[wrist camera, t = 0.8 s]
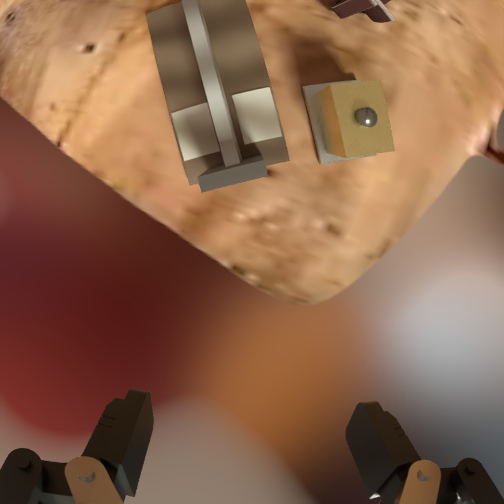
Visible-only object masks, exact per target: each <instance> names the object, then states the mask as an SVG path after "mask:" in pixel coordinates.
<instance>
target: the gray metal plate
mask: <svg viewBox="0 0 504 504" xmlns="http://www.w3.org/2000/svg"><path fill="white" fill-rule="evenodd" d="M359 81H361V80H350V81H340V82H331V83H323V84H315V85H308V86H303V87H302V91H303V95H304V99H305V102H306V106H307V110H308V115H309V119H310V123H311V127H312V132H313V136H314V141H315V145H316V150H317V154H318V159H319V164H321V165H323V164H328V163H333V162H339V161H344V160H350V159H356V158H362V157H368V156H375V155H376V154H370V155H364V156H358V157H352V158H343V157H339V156H336V155H332V154H328V153H327V149H326V144H325V139H324V135H323V130H322V126H321V122H320V117H319V113H318V109H317V105H316V101H315V97H314V94H316V93H317V92H319V91H320V90H322V89H323V88H325V87H326V86H328V85H330V84H338V83H347V82H359Z"/></svg>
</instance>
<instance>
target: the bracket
mask: <svg viewBox="0 0 504 504" xmlns="http://www.w3.org/2000/svg"><path fill="white" fill-rule="evenodd" d="M389 1H391V0H334V1H333V2H332V4H331V5H330V8H331V9H332V10H333V11H334V12H335V13H336V14H337V15H338V16H339V17H340V18H341V19H343V18H346V17H349V16H351V15H354V14H356V13H358V12H361V11H364V12H365V13H366V14H367V15H368V17H369V18H370V19H371V20H372V21H374V22H378V23H383V22H390V21H393V20H395V18H394V17H393V16H392V14H391V13H390V12H389V11H388V9H387V8H386V7H385V6H384V5H385V4H386V3H387V2H389Z"/></svg>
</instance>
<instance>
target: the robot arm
mask: <svg viewBox="0 0 504 504" xmlns="http://www.w3.org/2000/svg"><path fill="white" fill-rule="evenodd" d="M153 424H154V418H153V410H152V401H151V393H150V392H148V391H143V390H138V389H133V388H130V390H129V391H128V393H127V395H126V398H125V400H123V399H119V398H115V399H114V400H113V401H112V402H110V403H109V404H108V405H107V406H106V408H105V410H104V412H103V414H102V417H100V419H99V422H98V425H96V428H95V429H94V432H93V434H92V436H91V438H90V440H89V442H88V444H87V446H86V448H85V450H84V452H83V454H82V455H81V456H80V457H76V458H73V459H72V460H70V461H69V462H68V463H59V462H50V461H44V460H41V459H40V457H39V456H38V455H37V454H36V453H35V452H34V451H32V450H30V449H26V448H19V449H15V450H13V451H12V452H11V453H10V454H9V455H8V457H7V458H6V460H5V462H4V464H3V466H2V468H1V470H0V504H124V500H125V496H126V495H128V496H132V497H135V494H136V490H137V486H138V482H139V478H140V475H141V471H142V467H143V464H144V460H145V456H146V453H147V449H148V446H149V442H150V438H151V435H152V431H153ZM346 441H347V444H348V446H349V449H350V451H351V454H352V456H353V459H354V461H355V463H356V466H357V468H358V471H359V474H360V476H361V478H362V481H363V483H364V486H365V488H366V491H367V494H368V496H369V498H370V499H371V498H375V497H379V496H380V498H381V501H380V503H379V504H457V502H458V501H459V500H460V499H461V500H462V502H463V504H504V499H503V498H502V496H501V494H500V493H499V491H498V489H497V488H496V486H495V484H494V483H493V481H492V480H491V478H490V476H489V475H488V473H487V472H486V470H485V469H484V467H483V466H482V464H481V463H480V462H479V461H478V460H476V459H473V458H465V459H463V460H461V461H460V462H459V463H458V465H457V466H456V467H452V468H439V467H438V466H437V465H436V464H434V463H433V462H430V461H427V460H421V458H420V457H419V455H418V454H417V452H416V450H415V448H414V447H413V445H412V444H411V442H410V440H409V439H408V437H407V436H406V435H405V432H404V430H403V429H401V426H400V424H399V422H398V421H397V419H396V418H395V417H394V416H392V415H391V414H390V413H389V412H387V411H385V412H384V411H383V409H382V407H381V406H380V404H379V403H378V402H377V401H371V402H362V403H358V405H357V406H356V408H355V410H354V413H353V415H352V417H351V419H350V421H349V423H348V426H347V428H346Z"/></svg>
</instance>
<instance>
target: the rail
mask: <svg viewBox="0 0 504 504" xmlns="http://www.w3.org/2000/svg"><path fill="white" fill-rule="evenodd" d="M146 16H147V21H148V25H149V30H150V34H151V39H152V43H153V48H154V52H155V56H156V61H157V65H158V69H159V73H160V77H161V81H162V85H163V89H164V93H165V97H166V101H167V105H168V109H169V113H170V116H171V120H172V124H173V128H174V131H175V135H176V139H177V142H178V146H179V150H180V153H181V157H182V160H183V164H184V167H185V171H186V174H187V178H188V181H189V185H193V184H197V183H199V185H200V188H201V192H206V191H210V190H213V189H217V188H221V187H225V186H229V185H233V184H237V183H241V182H245V181H249V180H253V179H257V178H262V177H266V176H268V173H267V169H266V166H268V165H272V164H277V163H281V162H286V161H290V159H289V155H288V151H287V147H286V142H285V138H284V134H283V130H282V126H281V122H280V118H279V114H278V110H277V106H276V102H275V98H274V95H273V91H272V87H271V83H270V80H269V76H268V73H267V69H266V65H265V62H264V58H263V55H262V52H261V48H260V45H259V42H258V38H257V35H256V32H255V29H254V25H253V22H252V19H251V16H250V13H249V10H248V7H247V4H246V1H245V0H181V1H180V2H177V3H174V4H171V5H168V6H165V7H162V8H160V9H157V10H154V11H152V12H149V13H147V14H146Z"/></svg>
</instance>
